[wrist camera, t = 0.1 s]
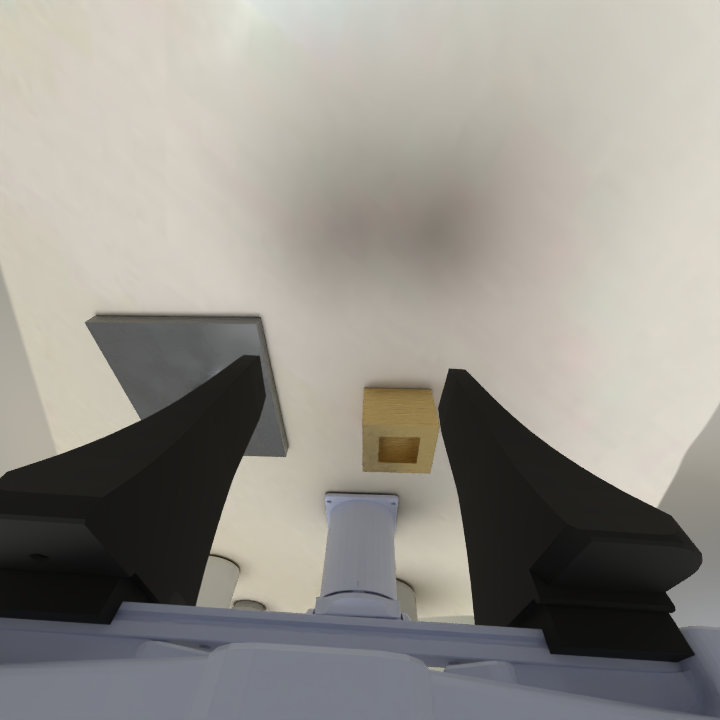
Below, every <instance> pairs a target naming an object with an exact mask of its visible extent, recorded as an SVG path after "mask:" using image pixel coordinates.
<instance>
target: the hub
mask: <svg viewBox="0 0 720 720" xmlns="http://www.w3.org/2000/svg"><path fill="white" fill-rule="evenodd" d="M439 427H440V426H439V422H438V417H437V413H436V409H435V404H434V400H433V396H432V392H431V389H389V388H364V401H363V472H396V473H430V472H431V467H432V462H433V457H434V452H435V447H436V442H437V437H438V432H439Z"/></svg>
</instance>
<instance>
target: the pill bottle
mask: <svg viewBox="0 0 720 720" xmlns="http://www.w3.org/2000/svg"><path fill="white" fill-rule="evenodd" d="M238 577H239V569H238V567H237V566H236V565H235V564H233V563H232V562H230V561H228V560H225V559H223V558H219V557H215V556H209V557H208V561H207V564H206V568H205V572H204V576H203V580H202V583H201V587H200V591H199V595H198V599H197V603H196V606H197V607H212V608H227V609H229V606H230V602H231V599H232V596H233V593H234V590H235V587H236V584H237V581H238ZM210 653H211V652H209V654H210Z"/></svg>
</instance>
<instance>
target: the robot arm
mask: <svg viewBox="0 0 720 720" xmlns="http://www.w3.org/2000/svg"><path fill="white" fill-rule="evenodd" d="M265 399H266V392H265V386H264V379H263V373H262V366H261V360H260V356H256V355H243V356H241V357H240V358H238V359H237V360H235V361H234V362H233V363H231V364H230V365H228V366H227V367H226V368H224V369H223V370H222V371H220V372H219V373H217V374H216V375H215V376H213V377H212V378H210V379H209V380H208V381H206V382H205V383H203V384H202V385H200V386H199V387H197V388H196V389H194V390H193V391H191V392H190V393H188V394H187V395H185V396H184V397H182V398H180V399H179V400H177V401H176V402H174V403H172V404H171V405H169V406H167V407H165V408H164V409H162V410H160V411H158V412H156V413H154V414H152V415H151V416H149V417H147V418H145V419H143V420H141V421H139V422H136V423H134V424H132V425H130V426H128V427H126V428H124V429H121V430H119V431H117V432H115V433H113V434H111V435H108V436H106V437H104V438H101V439H99V440H96V441H94V442H91V443H89V444H86V445H84V446H81V447H79V448H76V449H73V450H71V451H68V452H65V453H62V454H60V455H57V456H54V457H51V458H48V459H45V460H42V461H39V462H36V463H33V464H30V465H27V466H24V467H21V468H18V469H15V470H11V471H8V472H7V473H5V474H4V476H2V477H1V478H0V720H720V627H704V626H688V627H682V628H678V627H677V625H676V623H675V622H674V620H673V619H672V617H671V616H670V614H669V613H673V612H674V611H675V606H674V604H673V603H672V601H671V600H670V598H669V597H668V595H667V594H666V591H668V590H669V589H671V588H672V587H674V586H676V585H677V584H679V583H680V582H682V581H684V580H685V579H687V578H688V577H690V576H691V575H692V574H694V573H695V572H696V571H697V570H698V569H699V567H700V565H701V564H702V553H701V552H700V551H699V549H698V548H697V547H696V546H695V545H694V543H692V541H691V540H690V538H689V537H688V536H687V535H686V533H685V532H684V531H683V530H682V528H681V527H680V526H679V525H678V523H677V522H676V521H675V520H674V518H673V517H672V516H671V515H669V514H667V513H665V512H663V511H661V510H659V509H657V508H655V507H653V506H651V505H649V504H647V503H645V502H643V501H641V500H639V499H637V498H635V497H633V496H631V495H629V494H627V493H625V492H623V491H622V490H620V489H618V488H616V487H615V486H613V485H611V484H609V483H607V482H606V481H604V480H602V479H600V478H599V477H597V476H595V475H594V474H592V473H590V472H589V471H587V470H585V469H584V468H582V467H581V466H579V465H577V464H576V463H574V462H573V461H571V460H570V459H568V458H567V457H565V456H564V455H562V454H561V453H559V452H558V451H556V450H555V449H554V448H552V447H551V446H549V445H548V444H547V443H545V442H544V441H543V440H541V439H540V438H539V437H537V436H536V435H535V434H533V433H532V432H531V431H530V430H528V429H527V428H526V427H525V426H524V425H522V424H521V423H520V422H519V421H518V420H517V419H516V418H514V417H513V416H512V415H511V414H510V413H509V412H508V411H507V410H505V409H504V408H503V407H502V406H501V405H500V404H499V403H498V402H497V401H496V400H495V399H494V398H493V397H492V396H491V395H490V394H489V393H488V392H487V391H486V390H485V389H484V388H483V387H482V386H481V385H480V384H479V383H478V382H477V381H476V380H475V379H474V378H473V377H472V376H471V375H470V374H469V373H468V372H467V371H466V370H463V369H449V371H448V374H447V378H446V382H445V385H444V389H443V392H442V396H441V400H440V403H439V407H438V411H439V419H440V426H441V432H442V436H443V440H444V444H445V448H446V451H447V455H448V459H449V462H450V466H451V469H452V473H453V477H454V480H455V484H456V488H457V493H458V497H459V503H460V509H461V515H462V521H463V528H464V535H465V542H466V549H467V556H468V564H469V572H470V581H471V590H472V600H473V610H474V619H475V625H468V624H453V623H437V622H423V621H412V620H411V618H409V615H408V614H407V613H401V610H400V601H398V600H397V587H396V568H395V548H394V535H395V526H396V517H397V509H398V497H397V496H395V495H367V494H334V493H327V494H325V497H324V500H325V508H326V516H327V523H328V536H327V544H326V553H325V561H324V570H323V578H322V586H321V595H320V597H317V598H316V606H315V609H308V611H307V612H306V614H303V613H287V612H272V611H257V610H242V609H227V608H212V607H197V606H196V603H197V599H198V595H199V591H200V587H201V583H202V580H203V576H204V572H205V568H206V564H207V561H208V557H209V554H210V550H211V547H212V543H213V540H214V536H215V533H216V530H217V526H218V523H219V520H220V517H221V513H222V510H223V507H224V504H225V501H226V498H227V495H228V492H229V489H230V486H231V483H232V480H233V478H234V475H235V473H236V470H237V468H238V466H239V464H240V461H241V459H242V457H243V455H244V453H245V450H246V448H247V446H248V444H249V442H250V440H251V437H252V435H253V433H254V431H255V428H256V426H257V424H258V422H259V419H260V416H261V413H262V410H263V406H264V403H265ZM209 652H211V653H210V654H209ZM428 667H442V668H445V669H444V672H441V671H435V670H430V669H428Z"/></svg>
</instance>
